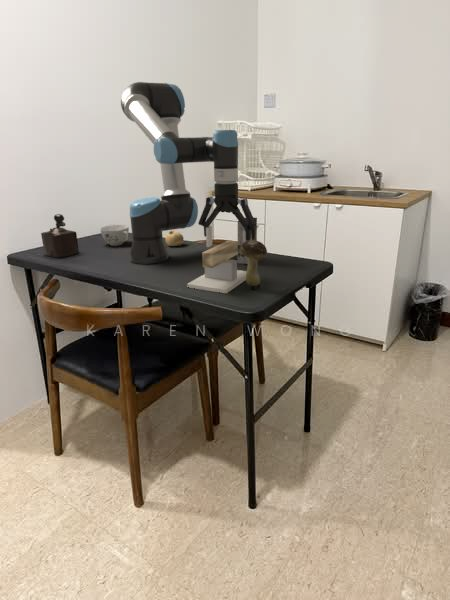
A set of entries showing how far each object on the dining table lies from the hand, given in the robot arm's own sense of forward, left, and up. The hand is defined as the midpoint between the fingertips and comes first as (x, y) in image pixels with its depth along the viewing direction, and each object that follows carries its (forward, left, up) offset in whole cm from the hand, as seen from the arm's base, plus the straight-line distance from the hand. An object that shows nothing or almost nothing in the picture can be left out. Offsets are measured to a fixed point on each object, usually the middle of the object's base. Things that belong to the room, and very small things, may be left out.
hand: (227, 248), depth 140 cm
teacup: (-67, +22, -10) cm, 71 cm away
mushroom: (+13, -7, -10) cm, 18 cm away
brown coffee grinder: (-76, -1, -10) cm, 77 cm away
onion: (-42, +31, -10) cm, 53 cm away
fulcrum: (0, -5, -10) cm, 11 cm away
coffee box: (-2, +21, -10) cm, 23 cm away
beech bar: (0, -5, -3) cm, 6 cm away
